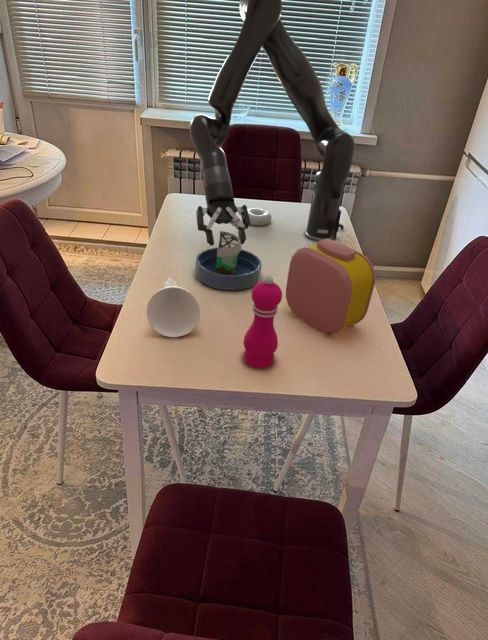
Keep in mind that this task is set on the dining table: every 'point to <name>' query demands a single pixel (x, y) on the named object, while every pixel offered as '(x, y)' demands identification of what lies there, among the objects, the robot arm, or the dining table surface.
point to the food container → (227, 253)
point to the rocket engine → (173, 310)
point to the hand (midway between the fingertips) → (227, 244)
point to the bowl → (243, 278)
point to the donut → (259, 216)
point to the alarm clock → (329, 285)
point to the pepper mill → (262, 324)
